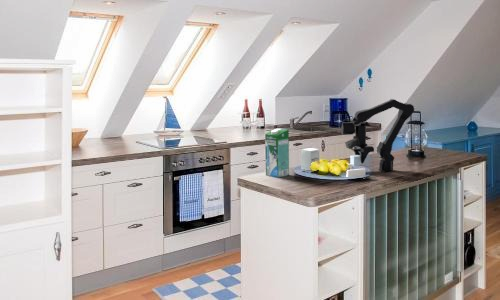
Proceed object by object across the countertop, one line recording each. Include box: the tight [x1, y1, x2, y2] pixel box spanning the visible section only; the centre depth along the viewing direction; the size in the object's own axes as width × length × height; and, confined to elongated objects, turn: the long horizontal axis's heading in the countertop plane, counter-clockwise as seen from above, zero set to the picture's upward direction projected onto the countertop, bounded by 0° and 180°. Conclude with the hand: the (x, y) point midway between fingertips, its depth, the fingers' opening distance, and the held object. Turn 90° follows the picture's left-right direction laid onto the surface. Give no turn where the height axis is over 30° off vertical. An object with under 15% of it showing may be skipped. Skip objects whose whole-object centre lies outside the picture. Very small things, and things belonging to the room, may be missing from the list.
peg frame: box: [344, 163, 366, 180], centre depth 255 cm, size 15×10×5 cm, turn 17°
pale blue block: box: [349, 154, 371, 167], centre depth 264 cm, size 10×4×5 cm, turn 108°
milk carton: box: [264, 127, 290, 178], centre depth 260 cm, size 9×9×25 cm
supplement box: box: [300, 147, 320, 170], centre depth 268 cm, size 7×7×13 cm
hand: (360, 162), depth 265 cm, fingers closed on pale blue block, 4 cm apart
